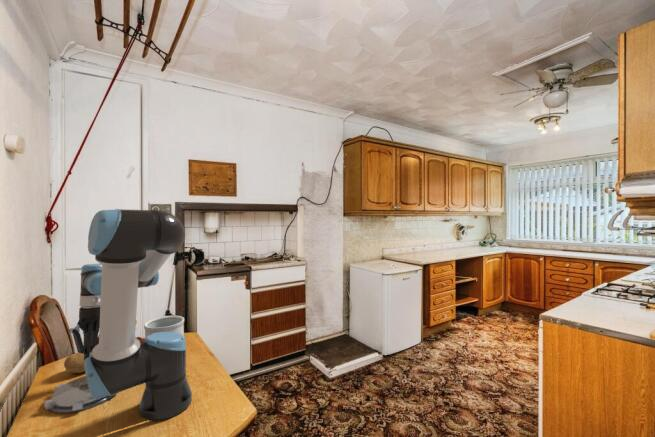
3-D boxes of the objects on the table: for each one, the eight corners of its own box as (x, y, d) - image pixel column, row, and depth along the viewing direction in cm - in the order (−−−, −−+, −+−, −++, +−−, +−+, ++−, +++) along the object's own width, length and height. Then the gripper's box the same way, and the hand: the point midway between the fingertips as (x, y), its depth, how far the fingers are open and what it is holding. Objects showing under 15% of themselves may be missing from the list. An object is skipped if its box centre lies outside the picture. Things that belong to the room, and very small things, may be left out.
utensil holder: (157, 375, 117) (157, 330, 117) (137, 365, 125) (136, 323, 125) (191, 359, 129) (191, 319, 129) (171, 351, 137) (171, 313, 137)
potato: (112, 364, 126) (112, 345, 126) (72, 381, 113) (72, 359, 113) (97, 360, 130) (97, 341, 130) (58, 375, 117) (57, 355, 117)
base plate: (120, 400, 101) (120, 398, 101) (42, 421, 90) (42, 418, 90) (122, 375, 117) (122, 373, 117) (56, 390, 107) (56, 388, 107)
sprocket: (55, 420, 89) (55, 397, 89) (36, 398, 100) (36, 377, 100) (134, 386, 107) (134, 367, 107) (111, 370, 118) (110, 353, 118)
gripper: (77, 310, 106) (74, 379, 104) (116, 303, 117) (113, 365, 116) (66, 308, 109) (63, 374, 108) (105, 301, 120) (102, 361, 119)
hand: (89, 370), depth 112 cm, fingers closed
